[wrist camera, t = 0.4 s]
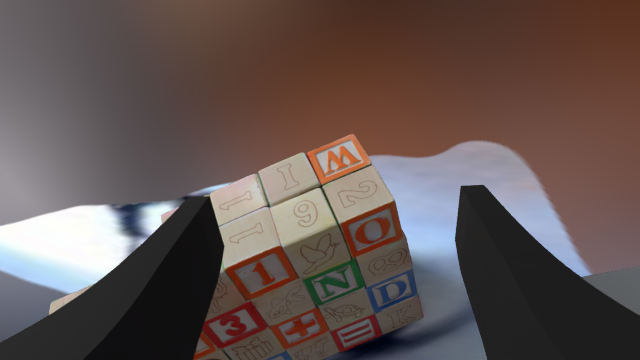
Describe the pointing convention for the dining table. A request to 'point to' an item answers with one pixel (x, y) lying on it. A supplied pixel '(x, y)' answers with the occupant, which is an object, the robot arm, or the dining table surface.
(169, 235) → the robot arm
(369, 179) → the stack of blocks
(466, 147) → the dining table surface
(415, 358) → the dining table surface
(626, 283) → the charcoal mat
